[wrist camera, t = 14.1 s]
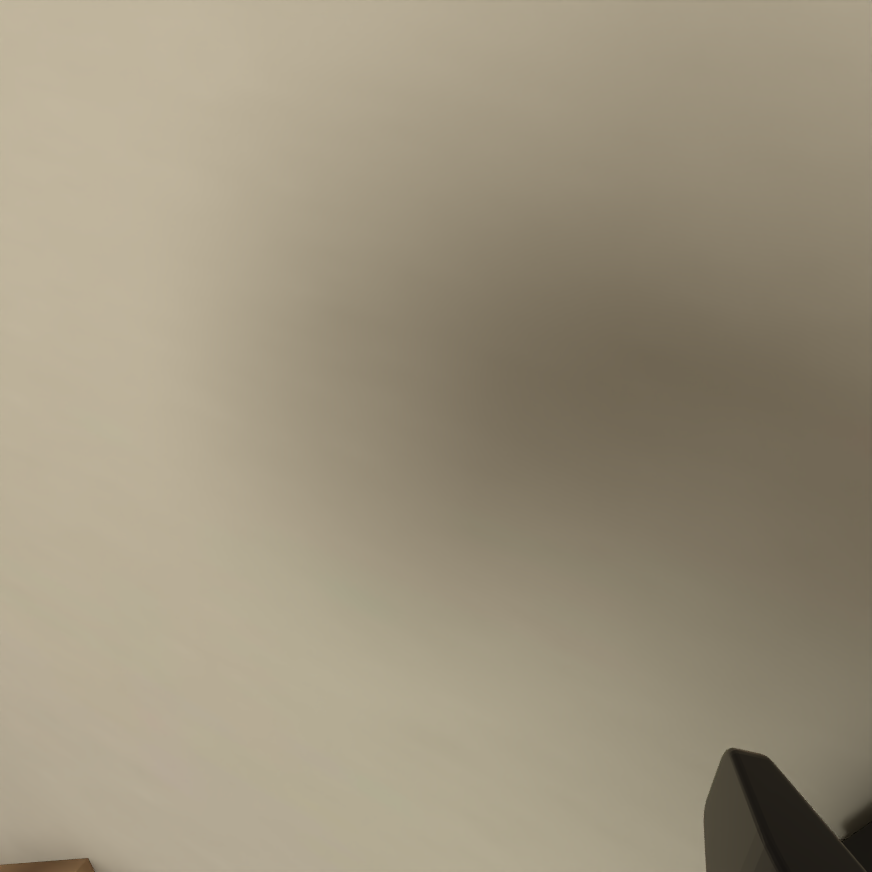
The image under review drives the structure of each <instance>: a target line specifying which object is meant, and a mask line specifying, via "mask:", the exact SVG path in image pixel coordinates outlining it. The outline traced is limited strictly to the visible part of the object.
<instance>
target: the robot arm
mask: <svg viewBox="0 0 872 872" xmlns="http://www.w3.org/2000/svg"><path fill="white" fill-rule="evenodd" d="M704 838H705V857H706V872H872V822H871V823H869V824H868V825H866V826H865V827H863V828H862V829H861V830H859V831H858V832H856V833H855V834H853V835H852V836H851V837H849V838H848V839H846V840H845V841H843V842H841V841H840V840H839V839H838V838H837V836H836V835H835V834H834V833H833V832H832V831H831V829H830V828H829V827H828V826H827V825H826V824H825V822H824V821H823V820H822V819H821V818H820V817H819V815H818V814H817V813H816V812H815V811H814V810H813V808H812V807H811V806H810V805H809V804H808V802H807V801H806V800H805V799H804V798H803V797H802V795H801V794H800V793H799V792H798V791H797V790H796V788H795V787H794V786H793V785H792V784H791V783H790V781H789V780H788V779H787V778H786V777H785V776H784V774H783V773H782V772H781V771H780V770H779V769H778V767H777V766H776V765H775V764H774V763H773V762H772V761H771V760H770V759H769V758H768V757H767V756H765V755H763V754H759V753H755V752H750V751H746V750H741V749H737V748H730V749H728V750H726V751H725V753H724V754H723V756H722V758H721V761H720V763H719V766H718V769H717V772H716V775H715V777H714V780H713V783H712V786H711V788H710V791H709V794H708V797H707V800H706V804H705V810H704Z"/></svg>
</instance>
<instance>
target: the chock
mask: <svg viewBox="0 0 872 872" xmlns="http://www.w3.org/2000/svg"><path fill="white" fill-rule="evenodd" d="M0 872H94V870H93V868H92V865H91V863H90V861H89V859H88V858H85V859H72V860H59V861H46V862H33V863H20V864H7V865H0Z"/></svg>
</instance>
